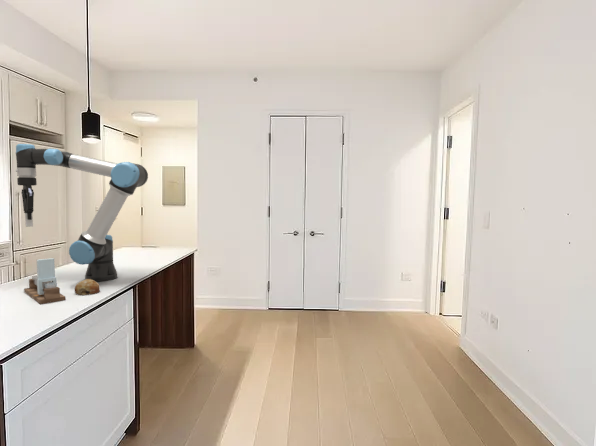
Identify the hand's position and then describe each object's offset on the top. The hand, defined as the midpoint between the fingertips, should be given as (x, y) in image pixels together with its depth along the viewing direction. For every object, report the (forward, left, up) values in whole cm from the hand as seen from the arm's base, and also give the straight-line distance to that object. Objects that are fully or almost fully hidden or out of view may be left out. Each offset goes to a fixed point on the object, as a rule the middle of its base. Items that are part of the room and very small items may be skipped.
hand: (29, 226), depth 190 cm
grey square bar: (-11, +26, -25) cm, 37 cm away
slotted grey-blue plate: (-13, +31, -26) cm, 43 cm away
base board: (-11, +26, -28) cm, 40 cm away
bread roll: (-28, +25, -29) cm, 47 cm away
